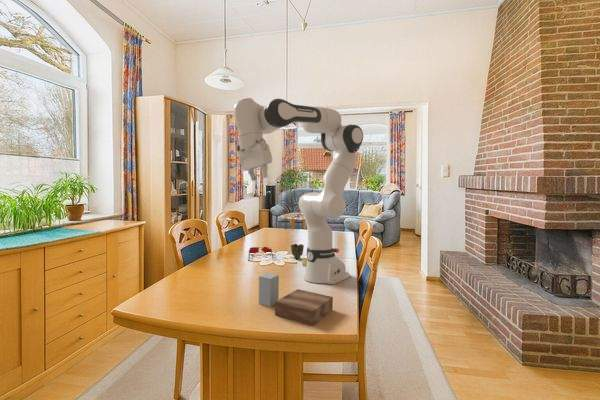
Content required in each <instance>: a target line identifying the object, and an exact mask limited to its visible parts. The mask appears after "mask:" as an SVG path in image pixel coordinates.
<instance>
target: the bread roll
mask: <svg viewBox="0 0 600 400" xmlns="http://www.w3.org/2000/svg"><path fill="white" fill-rule="evenodd" d="M302 265H303V266H302ZM306 265H307V258H304V259H302V261H301V266H302V267H304V266H306Z"/></svg>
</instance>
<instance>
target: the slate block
mask: <svg viewBox="0 0 600 400" xmlns="http://www.w3.org/2000/svg"><path fill="white" fill-rule="evenodd" d="M279 281H280V279H279V274H274V273H270V272H266V273H264V274H261V275H259V276H258V305H261V306H265V307H269V308H271V307H273V306H274V305H275V301H277V300H279V285H280V284H279V283H280V282H279Z"/></svg>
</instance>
